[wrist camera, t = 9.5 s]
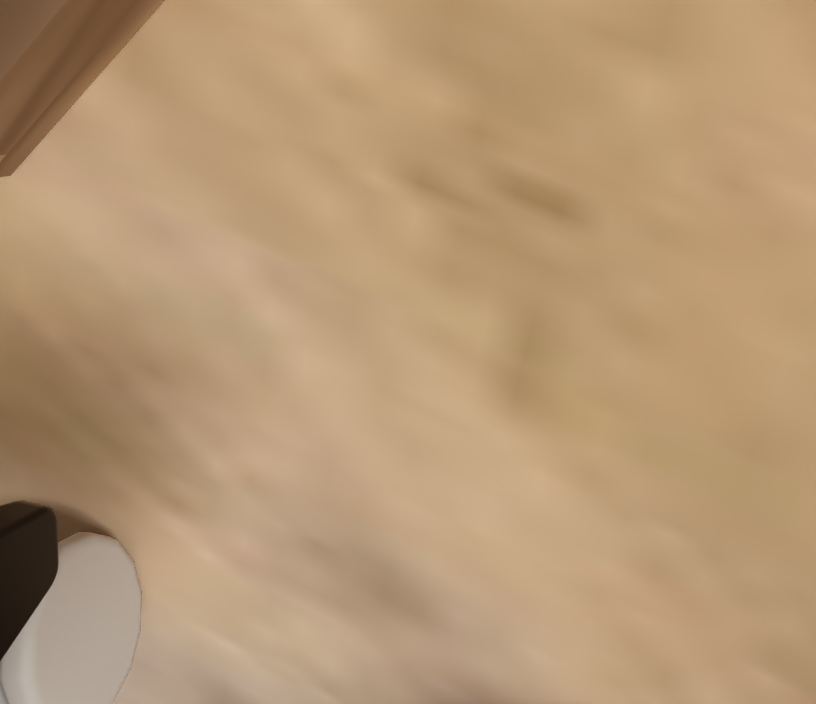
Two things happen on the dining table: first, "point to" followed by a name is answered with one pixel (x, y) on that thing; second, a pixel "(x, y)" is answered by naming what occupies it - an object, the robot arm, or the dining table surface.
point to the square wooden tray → (55, 62)
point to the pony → (78, 629)
